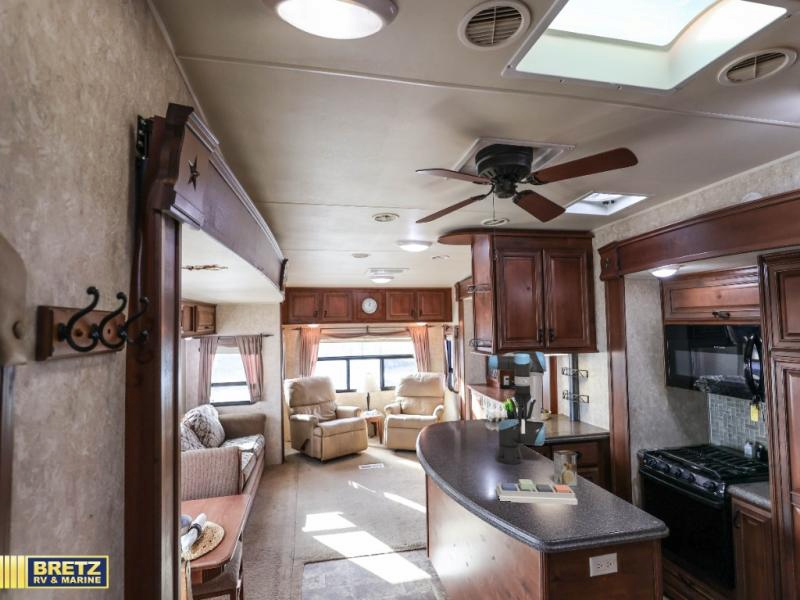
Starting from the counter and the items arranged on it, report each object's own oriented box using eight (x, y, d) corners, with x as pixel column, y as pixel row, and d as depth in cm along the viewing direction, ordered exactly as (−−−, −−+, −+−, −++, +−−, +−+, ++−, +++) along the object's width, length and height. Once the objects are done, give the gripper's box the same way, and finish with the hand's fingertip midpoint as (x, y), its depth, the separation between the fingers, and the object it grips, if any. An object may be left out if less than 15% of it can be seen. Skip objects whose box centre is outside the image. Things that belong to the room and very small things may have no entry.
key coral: (553, 490, 201) (553, 484, 201) (566, 490, 200) (565, 485, 200) (557, 494, 195) (557, 489, 195) (569, 495, 194) (569, 489, 195)
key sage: (519, 484, 202) (518, 479, 202) (531, 485, 202) (531, 479, 202) (521, 489, 196) (521, 483, 197) (533, 489, 196) (533, 484, 196)
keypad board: (496, 490, 206) (496, 481, 206) (568, 493, 203) (568, 484, 204) (500, 501, 193) (500, 492, 194) (577, 504, 190) (577, 495, 191)
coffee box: (569, 481, 219) (568, 449, 220) (577, 485, 213) (577, 453, 214) (553, 483, 217) (553, 450, 217) (561, 487, 210) (561, 454, 211)
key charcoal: (536, 489, 201) (536, 484, 201) (548, 490, 201) (548, 484, 201) (539, 494, 196) (539, 488, 196) (551, 494, 195) (551, 489, 195)
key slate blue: (501, 488, 203) (501, 482, 203) (513, 488, 202) (513, 483, 202) (503, 492, 197) (503, 487, 197) (516, 493, 196) (516, 487, 197)
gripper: (510, 385, 210) (510, 434, 209) (537, 386, 209) (538, 435, 208) (507, 383, 218) (508, 430, 216) (534, 384, 217) (534, 431, 215)
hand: (522, 432), depth 212 cm, fingers closed
